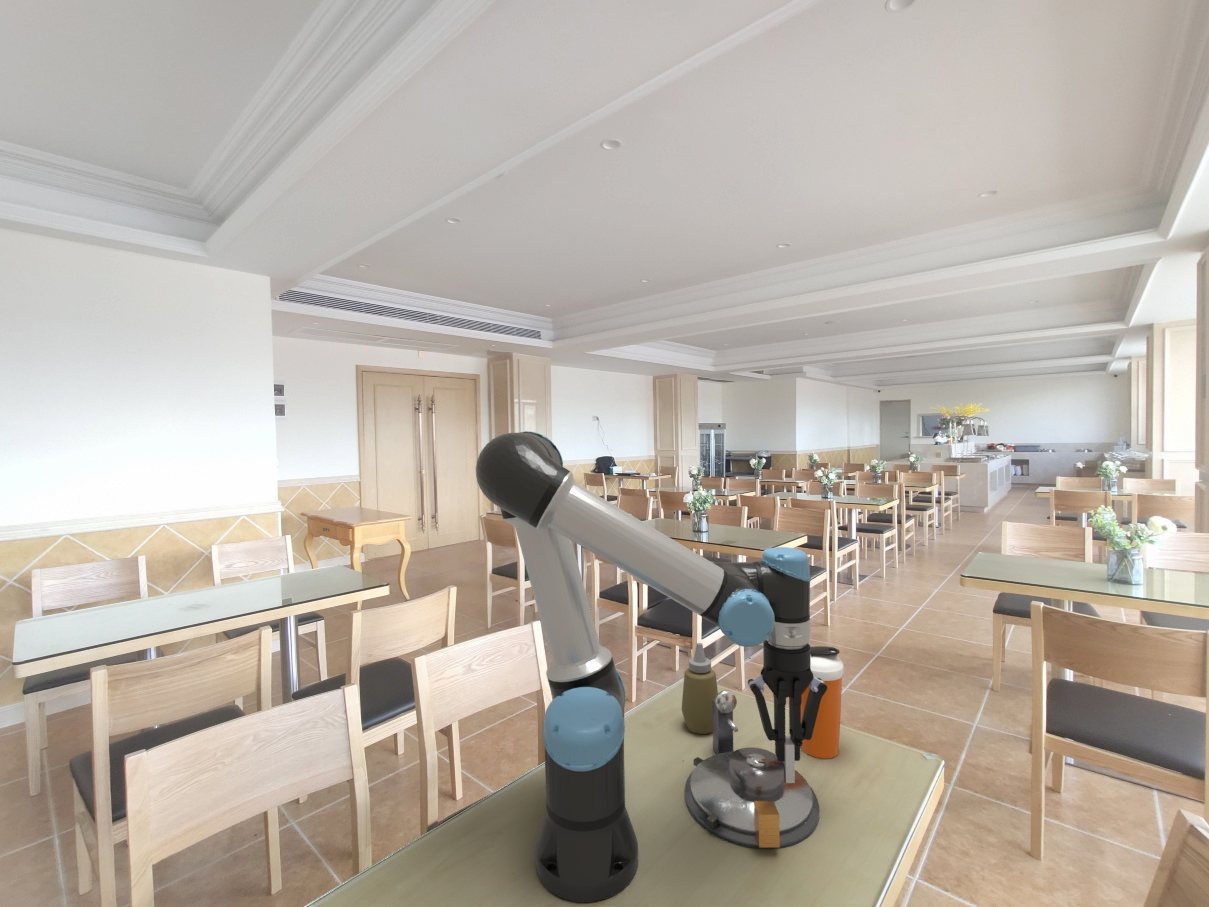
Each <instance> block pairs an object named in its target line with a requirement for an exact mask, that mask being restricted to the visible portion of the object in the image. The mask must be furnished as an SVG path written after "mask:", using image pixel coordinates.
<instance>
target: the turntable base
mask: <svg viewBox="0 0 1209 907" xmlns="http://www.w3.org/2000/svg"><path fill="white" fill-rule="evenodd" d="M693 771H694V769H693V770H692V771H691V773H690V774H689V775H688V777H687V779H686V782H685V785H684V800H685V804H686V807H687V809H688V811H689V813H690V815H691V816H692V818H693V820H695V821H696V822H697V823H698V824H699V825H700V826H701V827H702V828H703V829H704V830H706V831H707V832H709V834H712V835H713V836H715V837H717V838H718V839H721V840H723V841H725V842H727V843H731V844H734V845H737V846H741V847H744V848H748V849H756V850H776V849H777V850H779V849H784V848H788V847H792V846H794V845H797V844H799V843H801V842H803V841H804V840H806V839H807V838H809V837H810V836H811V835H813V833H814V831H815V830H816V829H817V826H818V824H819V820H820V805H819V804H820V803H819V800H818V796H817V794H816V793H815V792H814V790H813V788H812V787H811V786H810V788H811V791H812V795H813V809H812V813H811V815H810V817H809V819H808V820H807V821H806V822H805V823H804V824H803V825H802V826H801V827H799V828H797V829H796V830H793V831H791V832H788V833H785V834H781V835H780V847H759V845H758V842H757V839H756V836H755V835H749V834H744V833H739V832H736V831H733V830H730V829H728V828H725V827H723V826H721V825H719V824H718V825H716V826H715V827H714V828H711V827H709V826H708V825H707V824H706V819H707V818H708V817H707V816H706V815H705V814H703V812H702V811H701V810H700V809H699V808H698V807H697V805H696V804H695V802H694V800H693V798H692V795H691V783H690V781H691V775H692V772H693Z"/></svg>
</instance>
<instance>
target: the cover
mask: <svg viewBox="0 0 1209 907" xmlns="http://www.w3.org/2000/svg"><path fill="white" fill-rule="evenodd" d="M729 766H730V786H731V788H732V790H733V791H734V792H735V793H736V794H737V795H738V796H739V797H741V798H743V799H745V800H747V801H751V802H754V801H774V802H775V801H777V800H779V799H780V798H781V797H782V796H783V795H784V791H785V779H784V763H783V761H779V760H778V758H777V756H776V754H775V752H772V751H769V750H767V749H765V748H761V747H742V748H739V749H736V750H735V751H734V750H733V753H732V754H731V756H730V758H729Z"/></svg>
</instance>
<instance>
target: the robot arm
mask: <svg viewBox="0 0 1209 907" xmlns="http://www.w3.org/2000/svg"><path fill="white" fill-rule="evenodd" d="M475 476H476V482H477V484H478V487H479V489H480V491H481V492H482V494H483V495H484V496H485V497H486V498H487V499H488V500H489V501H490V502H491V503H492V504H493V505H495V506H496V507H498V508H499V509H500V512H501V515H502V520H503V521H504V522H506V523H508V524H509V525H511V526H512V527H513V528H515V532H516V535H517V539H518V540H517V541H518V543H519V546H520V547H519V548H520V550H521V553H522V557H523V558H522V559H523V561H524V564H525V569H526V573H527V576H528V580H529V583H530V587H531V589H532V593H533V597H534V600H535V604H536V609H537V611H538V615H539V619H540V622H541V627H542V630H543V633H544V637H545V641H546V644H547V648H548V651H549V655H550V658H551V662H550V663H549V666H547V668H546V669H547V670H546V672H545V673H546V674H545V676H546V678H547V682H548V686H549V690H550V693H551V696H552V700H551V701H550V703H549V704H548V706H547V708H546V710H545V713H544V718H543V720H544V721H543V727H542V738H543V744H544V745H543V746H544V768H545V769H544V772H545V774H544V775H545V802H546V805H545V806H546V810H545V815H544V818H543V820H542V825H541V828H540V832H539V836H538V838H537V842H536V846H535V870H536V874H537V876H538V878H539V880H540V883H541V884H542V885H543V886H544V887H545V889H547V891H549V892H550V893H552V894H554V895H555V896H557V897H558V898H562V899H564V900H567V901H571V902H577V903H589V902H590V903H591V902H598V901H602V900H605V899H608V898H610V897H612V896H614V895H616V894H618V893H619V892H621V891H622V890H623V889H624V888H626V886H628V885H629V884H630V882H631V881H632V879H633V878H634V876H635V875H636V872H637V870H638V867H639V845H638V844H639V843H638V838H637V836H636V833H635V830H634V827H633V823H632V821H631V818H630V815H629V812H628V809H627V808H626V791H625V790H626V788H625V784H626V782H625V780H626V779H625V777H626V776H625V732H626V729H625V728H626V726H625V725H626V724H625V707H626V688H625V684H624V680H623V678H622V677H621V674H620V673H619V670H618V669H617V667H616V665H615V662H614V658H613V654H612V651H611V650H609V649H608V648H606V647H605V646H603V645H601V643H600V640H599V637H598V633H597V630H596V626H595V623H594V619H593V615H592V611H591V608H590V604H589V600H588V597H587V596H588V595H587V593H586V589H585V586H584V582H583V578H582V575H581V574H582V573H581V570H580V567H579V564H578V559H577V556H576V552H575V549H574V545H573V543H576V545H579V546H581V547H583V548H584V549H585V550H587V551H589V552H591V553H592V554H594V555H596V556H597V557H599V558H601V559H603V560H604V561H606V562H608V563H609V564H611V565H613V566H614V567H616V568H618V569H619V570H622V571H623V572H624V573H626V574H628V575H630V576H632V577H634V578H635V579H637V580H638V581H640V582H642V583H644V584H646V585H647V586H649V587H651V588H653V589H654V590H655V591H657V592H659V593H660V594H662V595H664V596H666V597H667V598H670V599H671V600H673V601H675V602H676V603H678V604H680V605H681V606H683V607H685V608H687V609H688V610H690V611H692V612H693V613H695V614H697V615H699V616H700V617H701V618H703V619H704V620H706V621H708V622H709V623H711V624H713V625H714V626H716V627H718V628H720V631H721V633H722V635H723V634H724V637H726V638H727V639H728V640H729V641H730V642H731V643H733V644H735V645H737V646H739V647H744V648H749V647H750V648H752V647H756V646H759V645H761V644H763V646H762V647H763V649H762V650H763V653H762V654H763V656H762V657H763V667H762V668H761V671H760V675H759V676H758V677H756V678H755V679H753V678H749V679H748V680H747V684H748V687H749V688H750V691H751V692H752V695H754V698H755V703H756V706H757V709H758V713H759V717H760V721H761V725H762V729H763V731H764V733H765V735H766V738H767V740H768V741H774V743H775V744H774V746H775V747H774V751H775V752H774V754H776V756H777V758H778V760H779V761H783V763H784V779H785V782H786V783H795V770H796V767H795V766H796V765H795V762H799V761H800V759H801V746H802V741H803V740H805V739H806V740H810V739H811V738H812V734H813V730H814V726H815V722H816V718H817V714H818V710H819V706H820V702H821V698H822V696H823V695H824V694H825V692H826V691H827V686H826V684H825V683H824V682H823V681H822V679H820V678H816V677H814V676H813V673H812V671H811V668H810V665H811V660H810V647H811V645H810V644H809V643H810V642H811V617H810V616H811V613H810V612H811V610H810V608H811V601H810V600H811V581H812V580H811V579H812V578H811V568H810V560H809V556H808V555H807V553H806V552H804V551H803V550H801V549H798V548H796V547H795V548H793V547H784V546H782V547H781V546H775V547H769V548H768V547H767V548H766V549H764V550H763V552H762V555H761V558H760V561H759V560H757V561H748V562H747V561H736V562H735V561H732V562H731V561H730V562H729V561H726V562H725V561H724V562H721V561H719V562H718V561H717V562H716V561H710V560H708V559H707V558H705V557H704V556H702V555H701V554H698V553H697V552H695V551H693V550H691V549H689V548H688V547H686V546H684V544H681V543H680V542H677V541H676V540H675V539H672V538H671V537H670V536H668V535H665V533H663V532H661V531H659V530H658V529H656V528H654V527H652V526H651V525H649V524H647V523H645V522H643V521H642V520H640V519H639V518H637V517H635V516H634V515H633V514H630V513H629V512H627V511H625V510H623V509H621V508H619V507H618V506H616V505H615V504H613V503H612V502H610V501H608V500H607V499H604V498H602V496H599V495H597V494H596V493H594V492H593V491H591V490H589V489H587V488H586V487H584V486H583V485H581V484H579V483H577V482H576V480H575V478H574V474H573V471H571V470H569V469H567V468H566V467H564V460H563V457H562V454H561V452H560V450H559V448H558V447H557V446H556V444H555V443H554V442H553V441H552V440H551V439H549V438H548V437H547V436H545V435H544V434H541V433H538V432H533V431H528V430H527V431H526V430H525V431H521V432H519V431H518V432H507V433H503V434H500V435H497V436H495V437H494V438H493V439H491V440H490V441H489V442H487V443H486V444H485V446H484V447H483V448H482V450H481V451H480V453H479V455H478V458H477V461H476V466H475ZM809 684H810V685H809ZM765 685H766V686H767V687H768V688H769V690H770V691H771V693H772V695H773V724H772V722H771V717H770V714H769V710H768V707H767V702H766V699H765V696H764V694H763V693H764V692H765ZM808 686H809V687H810V690H809V693H808V697H807V701H806V705H805V710H804V714H803V718H802V722H801V704H802V694H803V693H804V691H805V690H806V689H807V687H808ZM787 698H788V717H789V718H788V720H789V721H788V722H789V723H788V725H789V727H788V729H789V735H786V705H787Z"/></svg>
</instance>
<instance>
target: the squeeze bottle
mask: <svg viewBox="0 0 1209 907" xmlns="http://www.w3.org/2000/svg"><path fill="white" fill-rule="evenodd" d="M682 688H683V689H682V697H681V713H682V715H683V718H684V721H685V724H686V727H687V729H688V730H689V731H690V732H692V733H695V734H697V735H698V734H699V735H707V734H710V733H713V716H712V699H715V698H716V696H717V694H718V693H719V691H718V682H717V674H716V672H715V671H714V669H712V661H711V660H710V659H709V657H708V658H707V657H706V653H705V651H704V645H703V643H702V642H698V643H696V645H695V651H694V656H693V657H690V658H689V660H688V668H687V669H686V670H685V671H684V677H683V687H682Z"/></svg>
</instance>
